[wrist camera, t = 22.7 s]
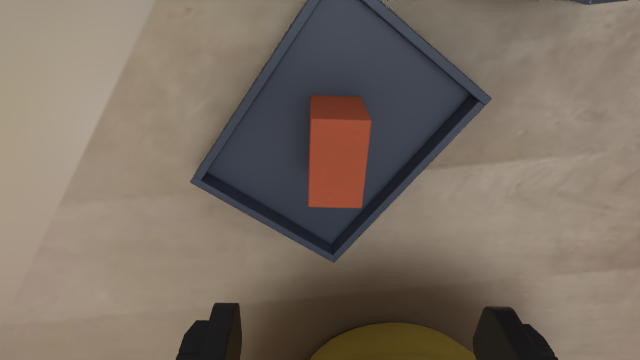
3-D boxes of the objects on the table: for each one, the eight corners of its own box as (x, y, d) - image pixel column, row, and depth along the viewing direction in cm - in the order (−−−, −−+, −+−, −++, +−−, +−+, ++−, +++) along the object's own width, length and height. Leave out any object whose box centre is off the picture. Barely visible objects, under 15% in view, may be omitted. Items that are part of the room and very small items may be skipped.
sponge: (308, 172, 28) (308, 207, 24) (310, 94, 25) (310, 118, 21) (353, 173, 28) (362, 208, 24) (360, 96, 25) (371, 120, 21)
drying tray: (332, 247, 32) (334, 263, 31) (197, 170, 28) (189, 182, 27) (479, 90, 26) (492, 98, 24) (331, -38, 22) (333, -40, 20)
